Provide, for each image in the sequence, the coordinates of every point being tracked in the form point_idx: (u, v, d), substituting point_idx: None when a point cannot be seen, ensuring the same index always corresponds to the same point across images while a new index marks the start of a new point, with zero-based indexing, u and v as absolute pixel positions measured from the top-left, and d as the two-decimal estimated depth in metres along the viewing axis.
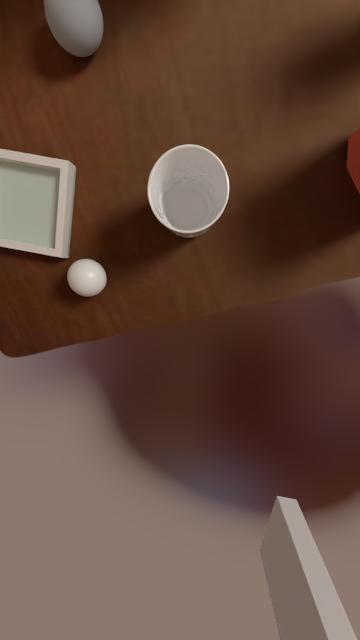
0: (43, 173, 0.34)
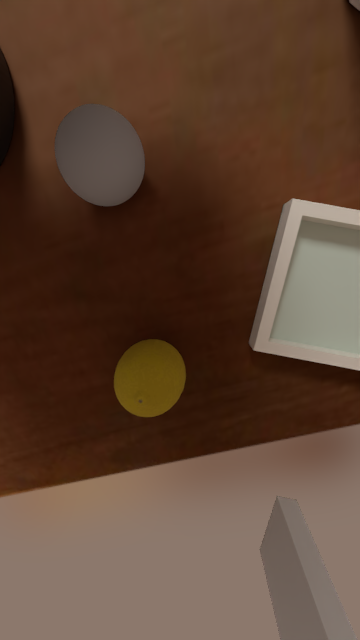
0: (291, 258, 0.21)
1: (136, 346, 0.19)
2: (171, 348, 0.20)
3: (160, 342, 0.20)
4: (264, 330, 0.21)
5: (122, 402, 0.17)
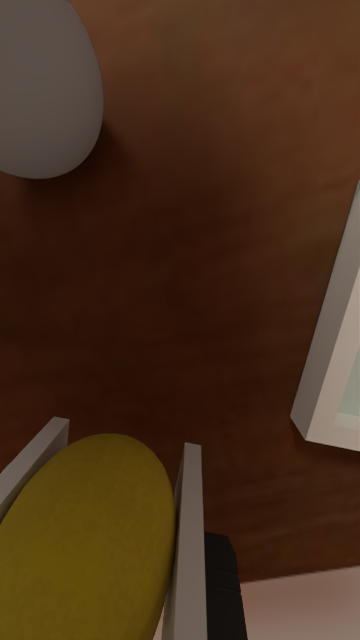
0: None
1: (47, 481, 0.07)
2: (140, 477, 0.08)
3: (113, 460, 0.08)
4: (326, 406, 0.11)
5: None
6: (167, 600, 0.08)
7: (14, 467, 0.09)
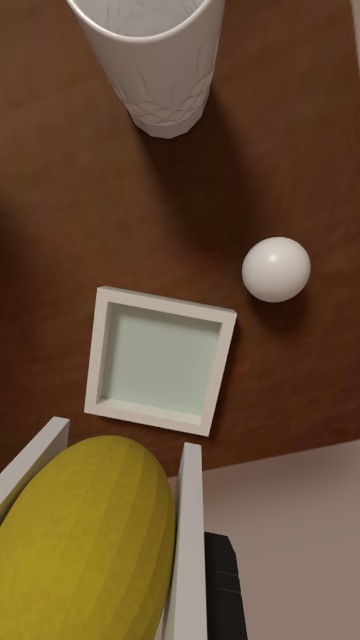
0: (115, 332, 0.24)
1: (46, 484, 0.07)
2: (139, 480, 0.08)
3: (113, 463, 0.08)
4: (90, 395, 0.24)
5: None
6: (167, 600, 0.08)
7: (14, 467, 0.09)
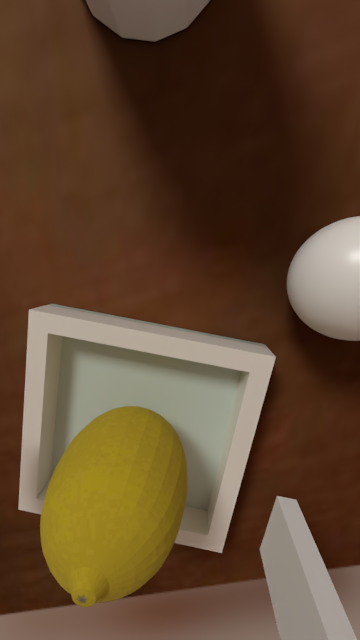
0: (69, 379, 0.14)
1: (91, 435, 0.10)
2: (160, 434, 0.10)
3: (139, 421, 0.11)
4: (27, 484, 0.14)
5: (52, 573, 0.08)
6: None
7: None
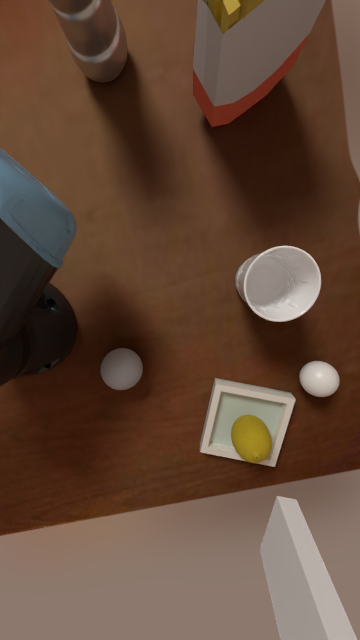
0: (219, 404, 0.40)
1: (245, 423, 0.35)
2: (263, 423, 0.36)
3: (256, 419, 0.36)
4: (205, 442, 0.40)
5: (243, 456, 0.34)
6: None
7: None
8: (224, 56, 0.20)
